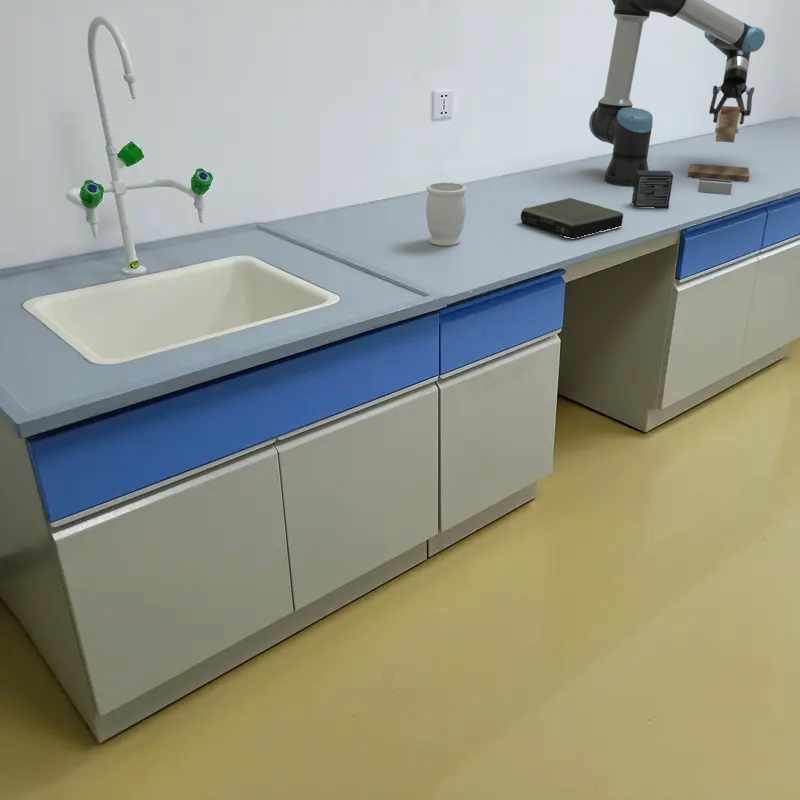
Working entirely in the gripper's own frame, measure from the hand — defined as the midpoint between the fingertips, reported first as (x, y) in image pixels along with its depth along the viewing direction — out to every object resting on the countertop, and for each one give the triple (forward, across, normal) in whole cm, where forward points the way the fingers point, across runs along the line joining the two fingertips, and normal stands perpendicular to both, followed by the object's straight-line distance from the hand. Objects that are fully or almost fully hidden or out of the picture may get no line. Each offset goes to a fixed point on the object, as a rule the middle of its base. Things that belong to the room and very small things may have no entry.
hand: (726, 130), depth 279 cm
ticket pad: (0, 0, -5) cm, 5 cm away
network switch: (+66, +40, +42) cm, 88 cm away
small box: (+44, +20, +21) cm, 53 cm away
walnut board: (+9, 0, -14) cm, 17 cm away
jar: (+84, +70, +62) cm, 126 cm away
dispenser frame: (+24, +1, +2) cm, 24 cm away
